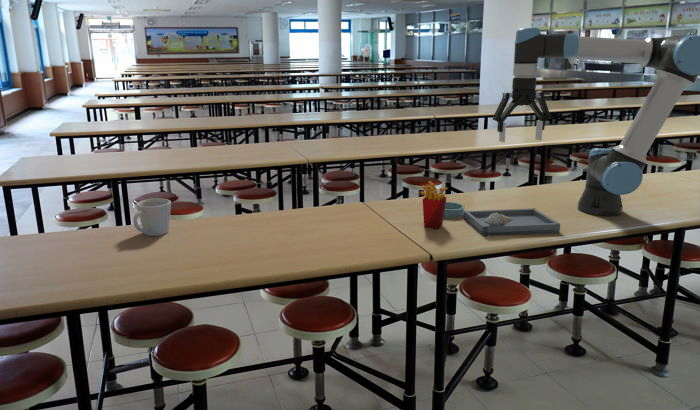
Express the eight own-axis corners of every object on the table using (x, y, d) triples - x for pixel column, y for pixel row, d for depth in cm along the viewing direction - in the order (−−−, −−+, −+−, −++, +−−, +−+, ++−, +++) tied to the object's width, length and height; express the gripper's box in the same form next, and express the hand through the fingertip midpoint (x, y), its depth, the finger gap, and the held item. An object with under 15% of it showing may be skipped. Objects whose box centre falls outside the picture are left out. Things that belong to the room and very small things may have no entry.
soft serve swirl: (520, 225, 182) (491, 227, 173) (507, 228, 186) (478, 230, 177) (517, 210, 183) (488, 211, 173) (504, 213, 186) (475, 215, 177)
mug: (180, 229, 180) (177, 199, 178) (150, 244, 167) (147, 212, 164) (153, 225, 184) (150, 196, 181) (122, 240, 170) (118, 208, 167)
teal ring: (457, 209, 205) (458, 201, 204) (468, 217, 195) (468, 209, 194) (430, 210, 203) (430, 202, 202) (439, 218, 193) (439, 210, 192)
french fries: (445, 224, 187) (448, 181, 182) (439, 231, 179) (441, 187, 175) (420, 221, 190) (422, 178, 186) (413, 228, 183) (414, 184, 179)
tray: (533, 216, 196) (534, 208, 196) (559, 232, 179) (560, 224, 178) (463, 219, 193) (464, 211, 192) (483, 236, 175) (483, 227, 175)
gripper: (552, 75, 188) (547, 137, 194) (484, 77, 184) (481, 140, 189) (565, 76, 181) (559, 140, 187) (494, 78, 177) (491, 144, 182)
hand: (520, 140), depth 188 cm, fingers open, 13 cm apart
